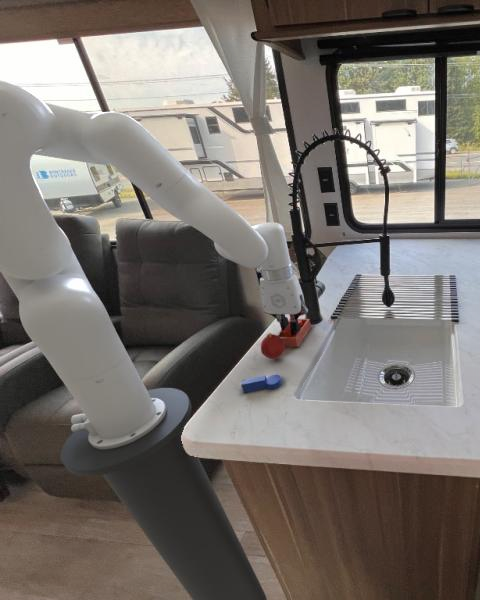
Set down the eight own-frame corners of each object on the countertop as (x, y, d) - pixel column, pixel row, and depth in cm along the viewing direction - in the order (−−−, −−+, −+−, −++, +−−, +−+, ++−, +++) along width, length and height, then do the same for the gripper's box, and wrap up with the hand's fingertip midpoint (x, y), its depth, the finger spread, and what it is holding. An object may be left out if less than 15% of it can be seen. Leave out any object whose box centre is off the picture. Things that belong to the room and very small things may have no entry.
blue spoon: (243, 395, 70) (240, 387, 69) (245, 385, 73) (243, 377, 72) (281, 387, 72) (279, 379, 71) (282, 378, 75) (280, 370, 74)
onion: (264, 354, 84) (257, 329, 80) (287, 350, 85) (281, 325, 82) (263, 367, 79) (256, 341, 75) (287, 362, 80) (281, 336, 77)
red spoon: (293, 338, 86) (291, 331, 85) (282, 338, 87) (280, 331, 86) (304, 322, 94) (302, 316, 92) (293, 322, 94) (291, 315, 93)
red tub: (297, 347, 86) (295, 338, 85) (276, 346, 87) (274, 337, 85) (311, 327, 96) (309, 318, 94) (291, 326, 96) (290, 318, 95)
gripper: (240, 277, 78) (258, 338, 86) (301, 277, 76) (313, 340, 85) (255, 266, 85) (270, 324, 93) (311, 266, 83) (322, 325, 91)
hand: (291, 331), depth 89 cm, fingers closed on red spoon, 2 cm apart
